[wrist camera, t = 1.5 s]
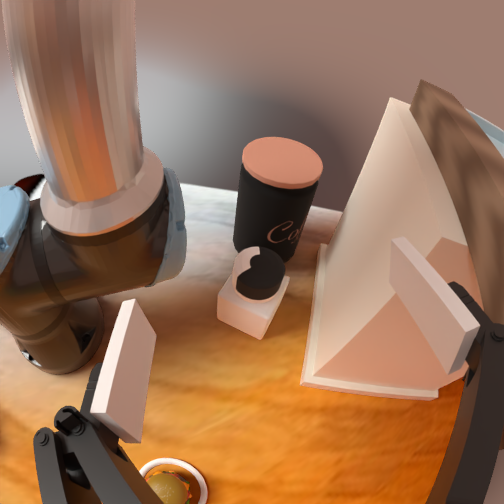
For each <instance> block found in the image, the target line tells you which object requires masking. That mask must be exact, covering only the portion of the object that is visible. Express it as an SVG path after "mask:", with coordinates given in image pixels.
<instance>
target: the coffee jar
mask: <svg viewBox="0 0 504 504" xmlns="http://www.w3.org/2000/svg"><path fill="white" fill-rule="evenodd" d="M242 161H243V163H242V165H241V172H240V180H239V189H238V198H237V207H236V216H235V226H234V235H233V242H234V246H235V249H236V250H237V252H238V253H240V252H241V251H243V250H244V249H247V248H250V247H265V248H268V249H270V250H272V251H274V252H275V253H277V254H278V255H279V256H280V257H281V259H282V260H283V262H284V263H285V262H287V261H288V260H289V259H290V258H291V257H292V256H293V254H294V252H295V249H296V247H297V244H298V241H299V238H300V235H301V232H302V230H303V227H304V224H305V221H306V218H307V215H308V212H309V209H310V207H311V204H312V201H313V198H314V195H315V192H316V189H317V186H318V179H319V178H320V176H321V173H322V170H323V166H322V161H321V159H320V158H319V156H318V155H317V154H316V153H315V152H314V151H313V150H312V149H310V148H309V147H307V146H305V145H303V144H302V143H300V142H297V141H294V140H291V139H286V138H280V137H265V138H260V139H256V140H254V141H252V142H250V143H249V144H248V145H247V146H246V147H245V148H244V150H243V156H242Z"/></svg>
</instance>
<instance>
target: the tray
mask: <svg viewBox="0 0 504 504" xmlns="http://www.w3.org/2000/svg"><path fill="white" fill-rule="evenodd" d="M465 109H466V108H465ZM466 110H467V109H466ZM467 112H468V113H469V114H470V115H471V116H472V117H473V119H474V120H475V121H476V122H477V124H478V125H479V126H480V127H481V129H482V130H483V131H484V132H485V134H486V135H487V136H488V138H489V139H490V140H491V142H492V143H493V144H494V146H495V147H496V148H497V150H498V151H499V153H500V154H501V155H502V157H503V158H504V131H503V130H502V129H500V128H499V127H497V126H495V125H493V124H492V123H491V122H489V121H487V120H485V119H484V118H482V117H480V116H479V115H477V114H475V113H473V112H471V111H470V110H467Z"/></svg>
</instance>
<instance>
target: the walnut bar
mask: <svg viewBox="0 0 504 504" xmlns="http://www.w3.org/2000/svg"><path fill="white" fill-rule="evenodd" d="M409 110H410V112H411V114H412V116H413V117H414V119H415V121H416V123H417V125H418V127H419V128H420V130H421V132H422V134H423V136H424V138H425V140H426V142H427V144H428V146H429V148H430V150H431V152H432V155H433V157H434V159H435V161H436V163H437V165H438V168H439V170H440V172H441V174H442V177H443V179H444V181H445V184H446V186H447V189H448V191H449V194H450V196H451V199H452V201H453V204H454V207H455V209H456V212H457V215H458V218H459V221H460V223H461V226H462V229H463V232H464V235H465V239H466V242H467V245H468V248H469V252H470V255H471V259H472V262H473V266H474V270H475V273H476V277H477V281H478V286H479V290H480V294H481V299H482V304H483V309H484V312H485V313H486V315H487V316H488V317H489V318H490V320H491V321H492V322H493V323H500V324H502V325H504V158H503V157H502V155H501V154H500V153H499V151H498V150H497V148H496V147H495V146H494V144H493V143H492V142H491V140H490V139H489V138H488V136H487V135H486V134H485V132H484V131H483V130H482V129H481V127H480V126H479V125H478V124H477V122H476V121H475V120H474V119H473V117H472V116H471V115H470V114H469V113H468V112H467V110H466V109H465V108H464V107H463V106H462V105H461V104H460V103H459V101H458V100H457V99H456V98H455V97H454V96H453V95H452V94H451V93H449V92H447V91H445V90H443V89H441V88H439V87H437V86H434V85H433V84H430V83H428V82H426V81H424V80H420V83H419V85H418V88H417V91H416V93H415V96H414V98H413V101H412V103H411V106H410V108H409ZM502 449H504V426H503V432H502V437H501V442H500V446H499V450H502Z"/></svg>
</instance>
